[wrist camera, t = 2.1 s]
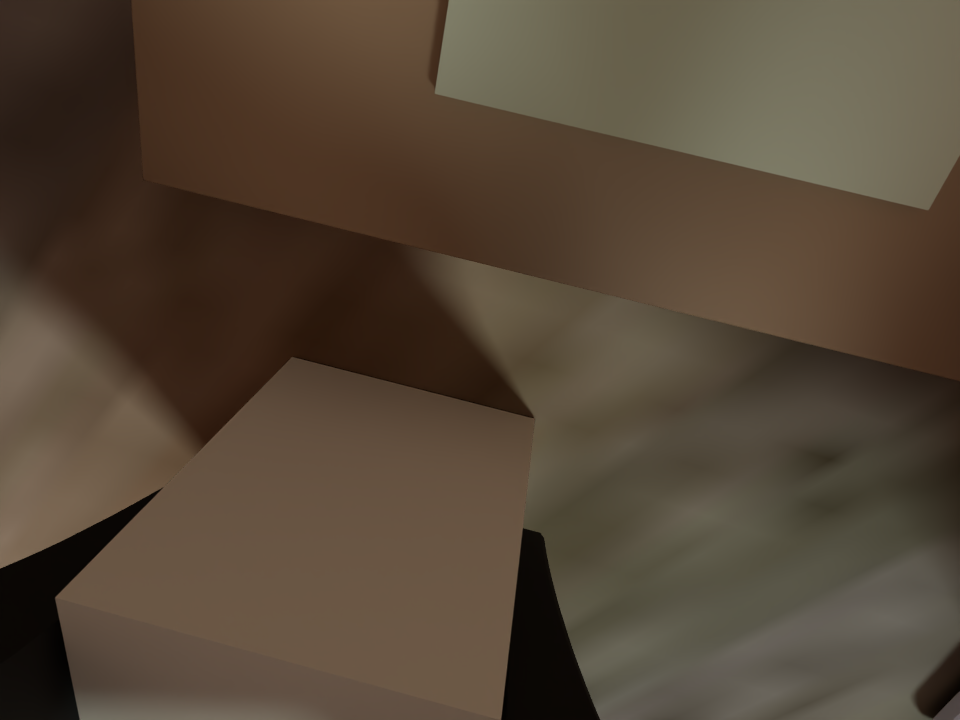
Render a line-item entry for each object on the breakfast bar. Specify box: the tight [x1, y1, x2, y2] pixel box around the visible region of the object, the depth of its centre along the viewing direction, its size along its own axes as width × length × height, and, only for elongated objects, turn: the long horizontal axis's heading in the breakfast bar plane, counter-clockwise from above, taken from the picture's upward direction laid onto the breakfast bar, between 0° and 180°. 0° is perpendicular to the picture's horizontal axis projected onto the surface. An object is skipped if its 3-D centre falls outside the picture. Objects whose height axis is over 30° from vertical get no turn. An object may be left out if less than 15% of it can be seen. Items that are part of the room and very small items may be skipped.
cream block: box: [55, 357, 535, 720], centre depth 10 cm, size 5×5×6 cm
